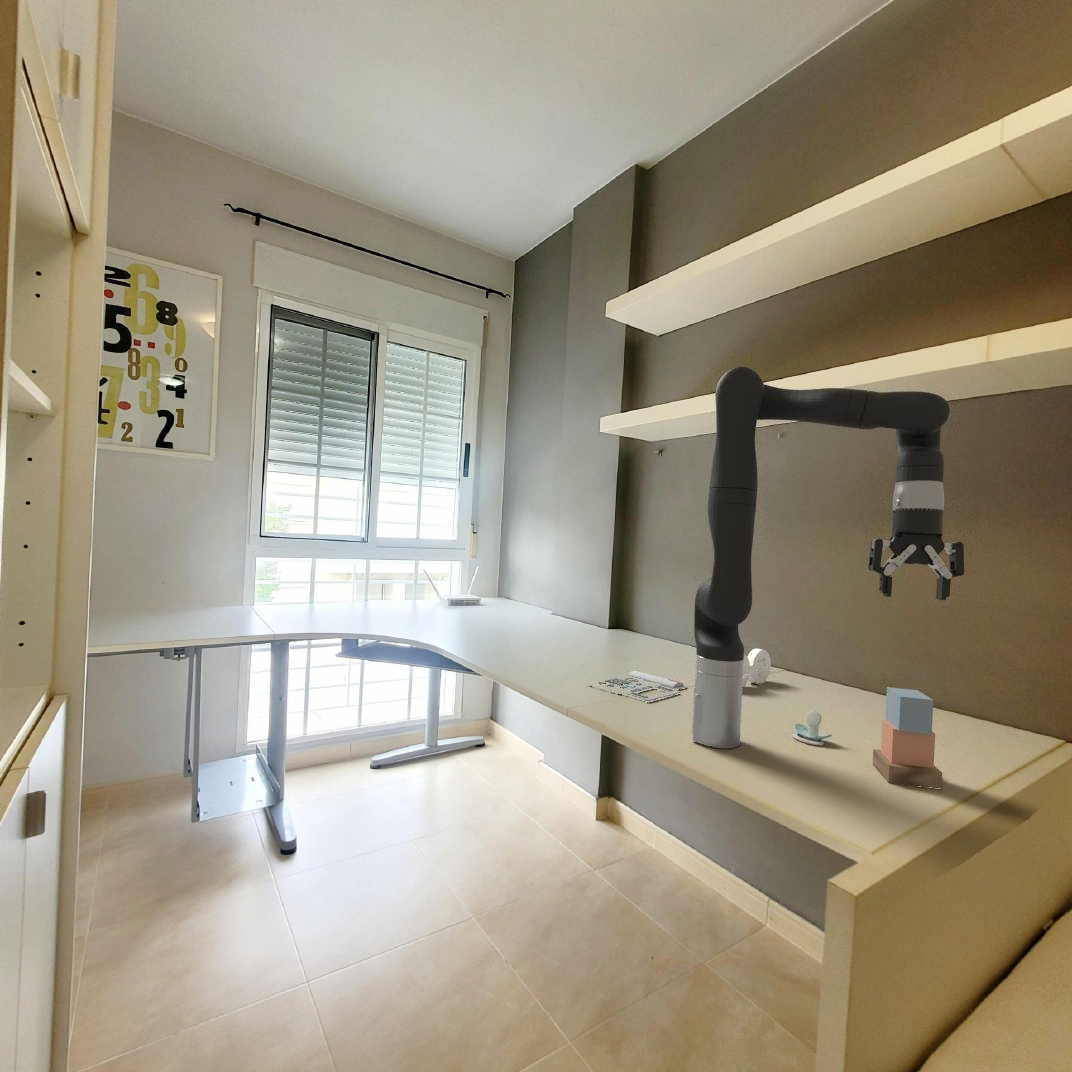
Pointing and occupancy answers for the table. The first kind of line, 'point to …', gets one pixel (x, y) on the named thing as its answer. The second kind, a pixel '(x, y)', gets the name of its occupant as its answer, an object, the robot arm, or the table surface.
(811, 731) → the pacifier
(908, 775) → the base block
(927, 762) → the brick terracotta
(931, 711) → the brick slate
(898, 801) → the table surface
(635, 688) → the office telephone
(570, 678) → the table surface
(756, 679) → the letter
